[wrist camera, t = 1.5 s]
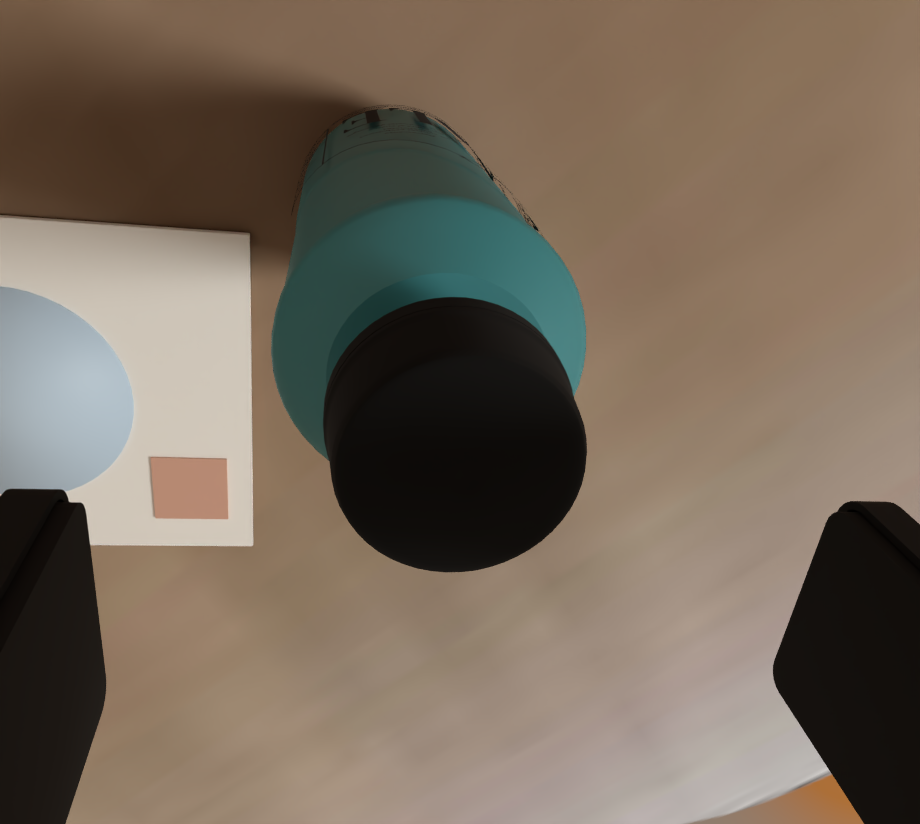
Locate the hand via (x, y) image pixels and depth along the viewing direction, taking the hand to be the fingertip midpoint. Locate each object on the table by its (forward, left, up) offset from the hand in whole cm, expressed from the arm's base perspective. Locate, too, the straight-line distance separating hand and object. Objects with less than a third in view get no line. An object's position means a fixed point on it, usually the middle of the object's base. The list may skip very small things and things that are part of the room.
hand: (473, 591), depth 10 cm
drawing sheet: (+9, -14, -22) cm, 27 cm away
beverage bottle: (0, 0, -22) cm, 22 cm away
